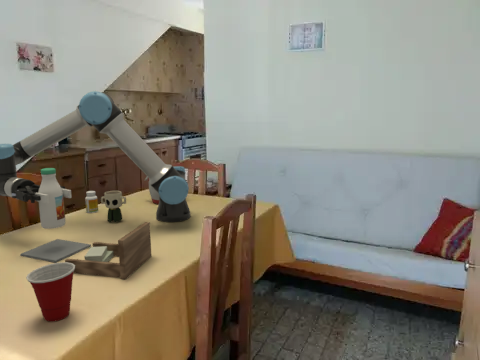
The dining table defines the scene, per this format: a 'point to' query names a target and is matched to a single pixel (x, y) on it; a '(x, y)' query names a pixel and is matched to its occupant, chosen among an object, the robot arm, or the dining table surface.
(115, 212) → the character mug
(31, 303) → the dining table surface
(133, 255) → the tray
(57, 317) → the plastic cup
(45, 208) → the milk bottle
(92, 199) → the supplement bottle
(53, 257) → the slate tile
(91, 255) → the offcut stack
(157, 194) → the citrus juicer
